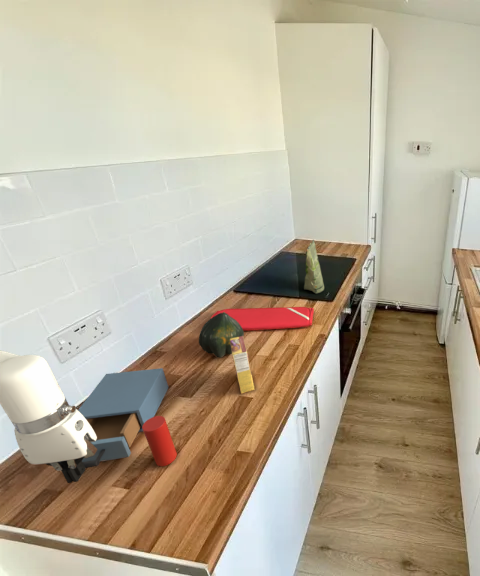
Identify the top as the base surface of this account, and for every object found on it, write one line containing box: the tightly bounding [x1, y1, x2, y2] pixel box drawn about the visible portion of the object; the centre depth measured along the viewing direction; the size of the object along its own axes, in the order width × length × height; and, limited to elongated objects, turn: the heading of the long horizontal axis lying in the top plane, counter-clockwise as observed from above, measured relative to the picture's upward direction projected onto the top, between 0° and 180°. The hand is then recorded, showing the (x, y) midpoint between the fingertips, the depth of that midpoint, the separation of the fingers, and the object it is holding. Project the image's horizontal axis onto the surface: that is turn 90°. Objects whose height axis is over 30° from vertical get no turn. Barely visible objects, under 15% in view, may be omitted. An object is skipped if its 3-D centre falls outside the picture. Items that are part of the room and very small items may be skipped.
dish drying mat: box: [209, 306, 315, 332], centre depth 136 cm, size 16×41×4 cm, turn 97°
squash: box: [198, 312, 245, 359], centre depth 117 cm, size 14×15×15 cm
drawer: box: [82, 413, 141, 469], centre depth 81 cm, size 20×13×6 cm
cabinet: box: [77, 367, 170, 433], centre depth 90 cm, size 17×15×8 cm
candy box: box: [230, 336, 255, 395], centre depth 101 cm, size 9×4×15 cm, turn 28°
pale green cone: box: [303, 239, 325, 294], centre depth 161 cm, size 11×12×25 cm
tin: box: [142, 415, 178, 467], centre depth 77 cm, size 4×4×12 cm
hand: (77, 475), depth 71 cm, fingers closed
